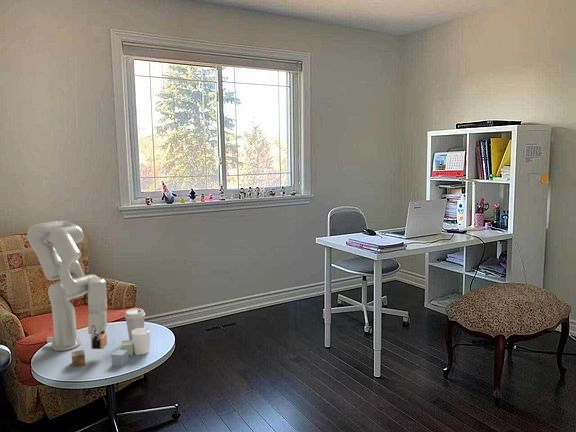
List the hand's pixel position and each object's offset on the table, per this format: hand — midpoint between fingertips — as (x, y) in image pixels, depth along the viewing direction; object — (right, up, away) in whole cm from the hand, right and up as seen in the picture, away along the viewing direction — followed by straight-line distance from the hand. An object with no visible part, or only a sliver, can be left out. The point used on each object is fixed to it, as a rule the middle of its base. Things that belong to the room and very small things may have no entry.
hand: (99, 345), depth 202 cm
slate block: (+11, -7, -4) cm, 14 cm away
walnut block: (-7, -7, -5) cm, 11 cm away
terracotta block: (0, -1, 0) cm, 1 cm away
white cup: (+17, -5, +7) cm, 19 cm away
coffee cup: (+11, -3, +18) cm, 21 cm away
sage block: (+11, -5, +5) cm, 13 cm away
